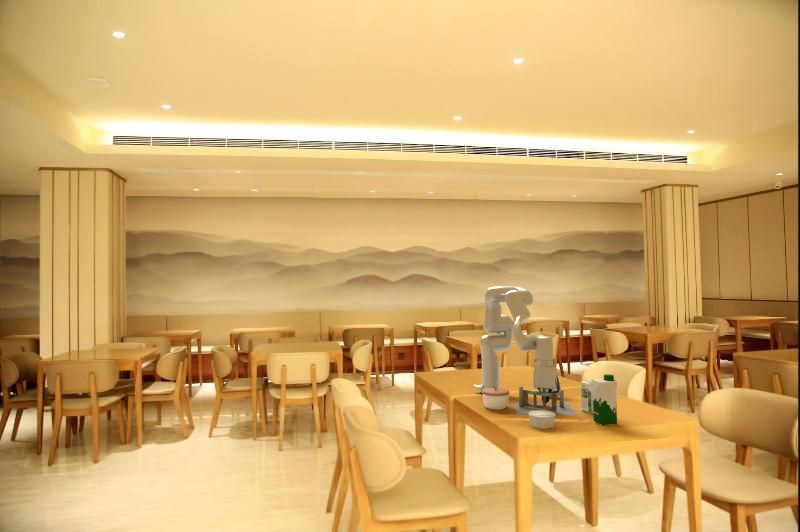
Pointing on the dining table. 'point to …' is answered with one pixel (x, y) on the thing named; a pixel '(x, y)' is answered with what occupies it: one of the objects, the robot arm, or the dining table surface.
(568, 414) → the gate base
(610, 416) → the milk carton
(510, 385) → the dining table surface
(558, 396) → the dark grey rounded block
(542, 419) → the ramekin
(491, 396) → the lidded bowl
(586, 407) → the syrup box
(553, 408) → the gate leaf
